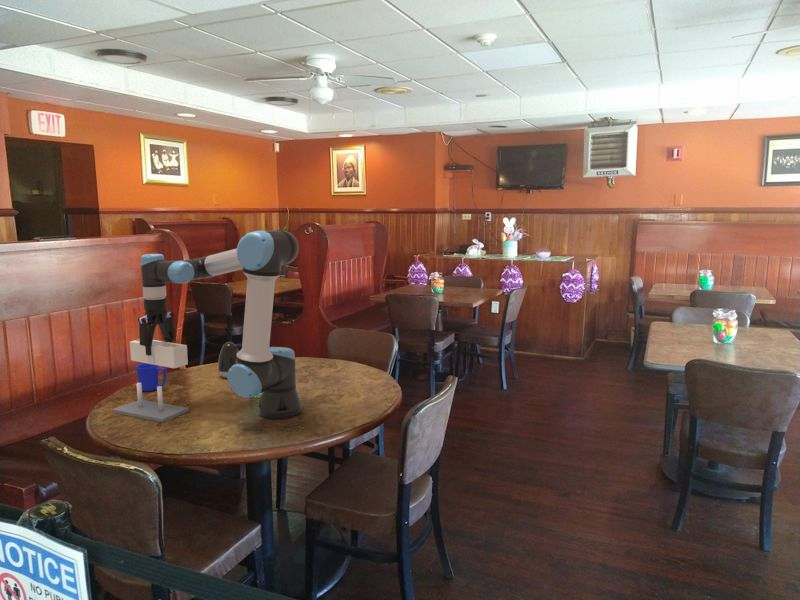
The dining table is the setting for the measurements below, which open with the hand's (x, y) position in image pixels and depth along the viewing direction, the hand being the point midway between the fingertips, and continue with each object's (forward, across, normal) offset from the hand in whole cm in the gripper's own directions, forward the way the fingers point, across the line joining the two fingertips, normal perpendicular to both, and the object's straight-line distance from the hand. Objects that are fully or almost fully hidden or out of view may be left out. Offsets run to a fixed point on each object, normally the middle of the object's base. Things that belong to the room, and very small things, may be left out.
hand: (159, 361), depth 205 cm
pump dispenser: (+17, -41, -6) cm, 45 cm away
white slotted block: (0, 0, 0) cm, 0 cm away
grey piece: (+17, +5, 0) cm, 18 cm away
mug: (+18, -13, -21) cm, 30 cm away
